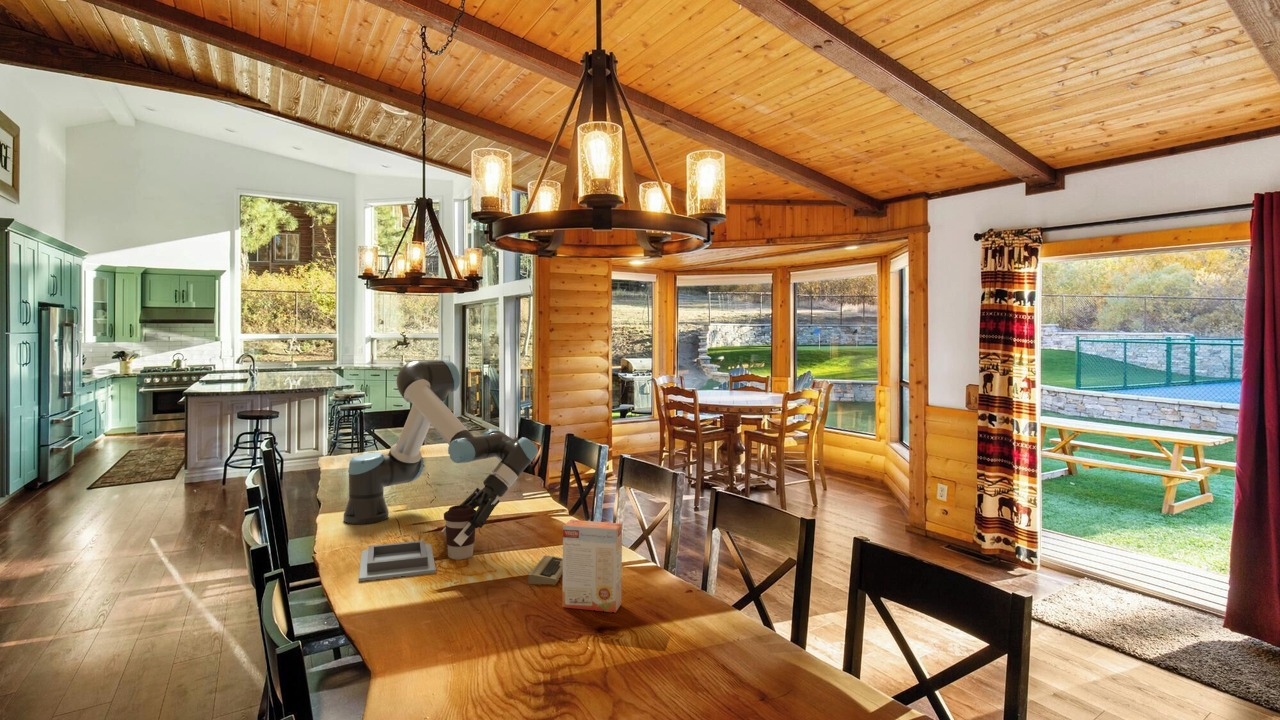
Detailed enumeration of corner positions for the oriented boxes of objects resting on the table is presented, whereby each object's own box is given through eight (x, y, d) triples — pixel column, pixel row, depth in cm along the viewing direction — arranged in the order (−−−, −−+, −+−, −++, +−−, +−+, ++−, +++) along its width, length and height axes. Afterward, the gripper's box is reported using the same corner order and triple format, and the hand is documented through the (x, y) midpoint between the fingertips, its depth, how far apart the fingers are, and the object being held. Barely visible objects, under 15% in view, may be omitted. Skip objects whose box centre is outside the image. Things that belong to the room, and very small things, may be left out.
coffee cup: (445, 563, 186) (445, 513, 186) (441, 552, 195) (442, 504, 195) (479, 559, 190) (480, 510, 190) (474, 549, 199) (474, 502, 199)
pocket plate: (362, 553, 194) (362, 542, 194) (430, 546, 201) (430, 535, 201) (358, 582, 171) (358, 569, 171) (435, 573, 179) (435, 560, 179)
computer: (556, 587, 171) (556, 574, 171) (527, 585, 172) (527, 573, 172) (569, 566, 187) (569, 555, 187) (542, 565, 188) (542, 554, 188)
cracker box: (622, 604, 160) (623, 522, 159) (615, 614, 154) (617, 529, 153) (569, 598, 163) (570, 518, 162) (561, 607, 157) (562, 524, 156)
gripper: (523, 494, 192) (473, 556, 184) (493, 481, 210) (446, 536, 201) (507, 479, 189) (455, 541, 180) (478, 467, 207) (429, 522, 198)
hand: (450, 538), depth 191 cm, fingers closed on coffee cup, 10 cm apart
